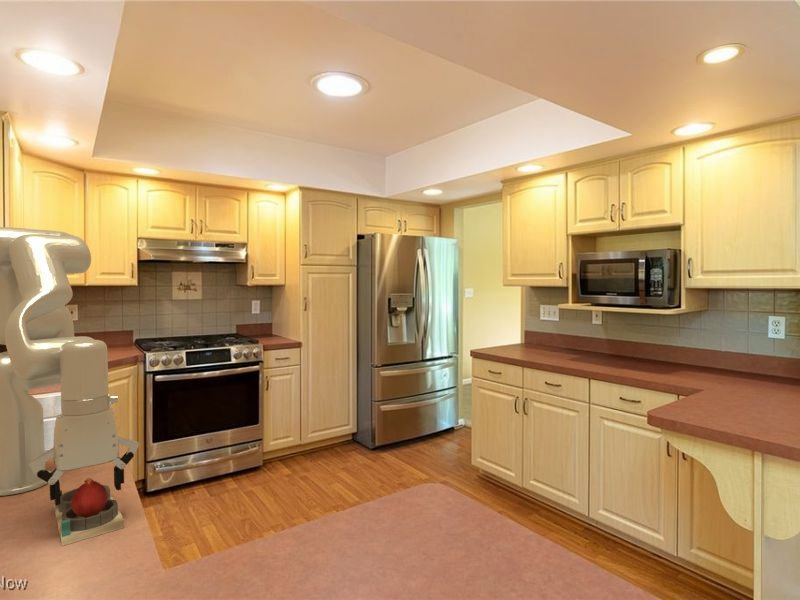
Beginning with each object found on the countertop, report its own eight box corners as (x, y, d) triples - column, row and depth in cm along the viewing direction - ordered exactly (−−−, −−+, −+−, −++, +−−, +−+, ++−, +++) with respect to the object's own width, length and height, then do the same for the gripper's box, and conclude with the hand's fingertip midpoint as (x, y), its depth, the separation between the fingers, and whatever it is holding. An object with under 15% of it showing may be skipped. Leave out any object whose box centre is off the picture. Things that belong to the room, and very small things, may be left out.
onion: (76, 514, 92) (75, 473, 91) (110, 508, 94) (109, 469, 94) (67, 529, 87) (66, 486, 86) (104, 523, 89) (103, 481, 88)
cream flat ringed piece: (54, 510, 98) (53, 491, 98) (108, 496, 104) (108, 478, 104) (61, 546, 84) (61, 524, 84) (124, 527, 90) (123, 507, 90)
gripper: (133, 395, 98) (135, 477, 99) (27, 409, 87) (30, 501, 88) (141, 402, 92) (143, 488, 93) (28, 418, 81) (31, 517, 82)
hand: (88, 495), depth 90 cm, fingers open, 9 cm apart
